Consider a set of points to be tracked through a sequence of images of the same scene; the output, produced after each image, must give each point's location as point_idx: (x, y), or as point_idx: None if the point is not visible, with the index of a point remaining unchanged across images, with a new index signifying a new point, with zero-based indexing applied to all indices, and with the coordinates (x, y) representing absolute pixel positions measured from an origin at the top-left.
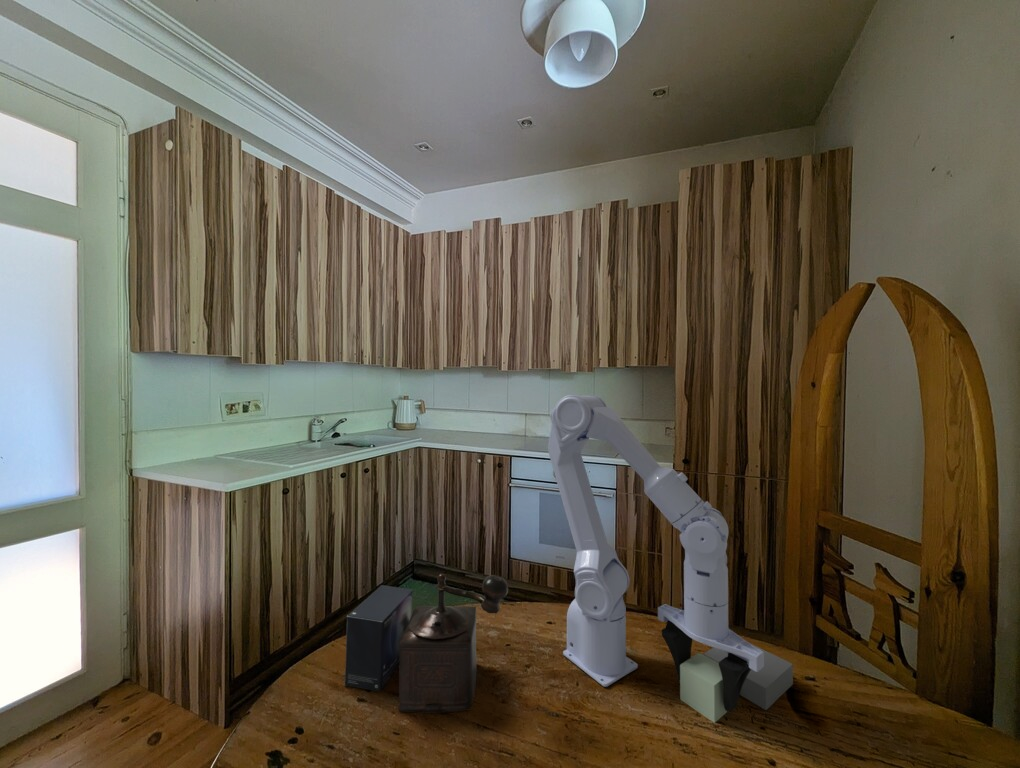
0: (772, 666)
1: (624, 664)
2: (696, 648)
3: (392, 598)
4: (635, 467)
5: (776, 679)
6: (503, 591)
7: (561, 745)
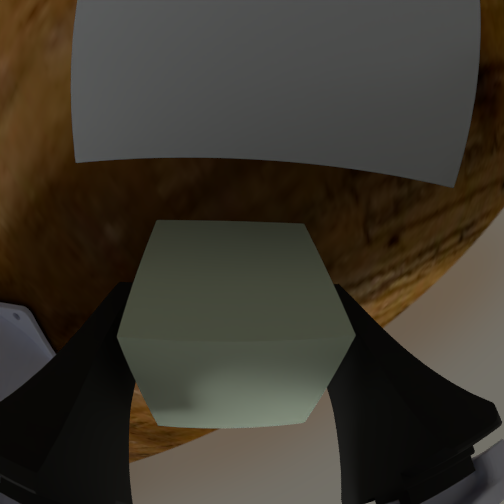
0: None
1: (34, 356)
2: (22, 16)
3: None
4: None
5: (476, 72)
6: None
7: (158, 443)
